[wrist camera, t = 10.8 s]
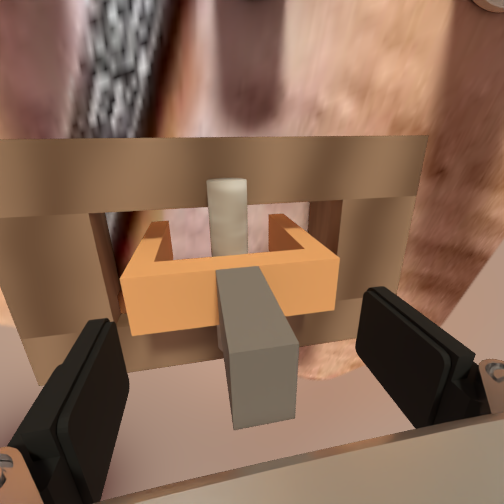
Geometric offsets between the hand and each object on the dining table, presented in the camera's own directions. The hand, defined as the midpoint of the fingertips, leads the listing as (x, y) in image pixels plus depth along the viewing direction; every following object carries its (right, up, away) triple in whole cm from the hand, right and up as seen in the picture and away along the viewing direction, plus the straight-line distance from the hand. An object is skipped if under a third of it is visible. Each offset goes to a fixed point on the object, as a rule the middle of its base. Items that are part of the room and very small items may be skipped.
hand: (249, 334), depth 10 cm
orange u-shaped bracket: (-2, +4, +12) cm, 13 cm away
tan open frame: (-4, +7, +17) cm, 19 cm away
